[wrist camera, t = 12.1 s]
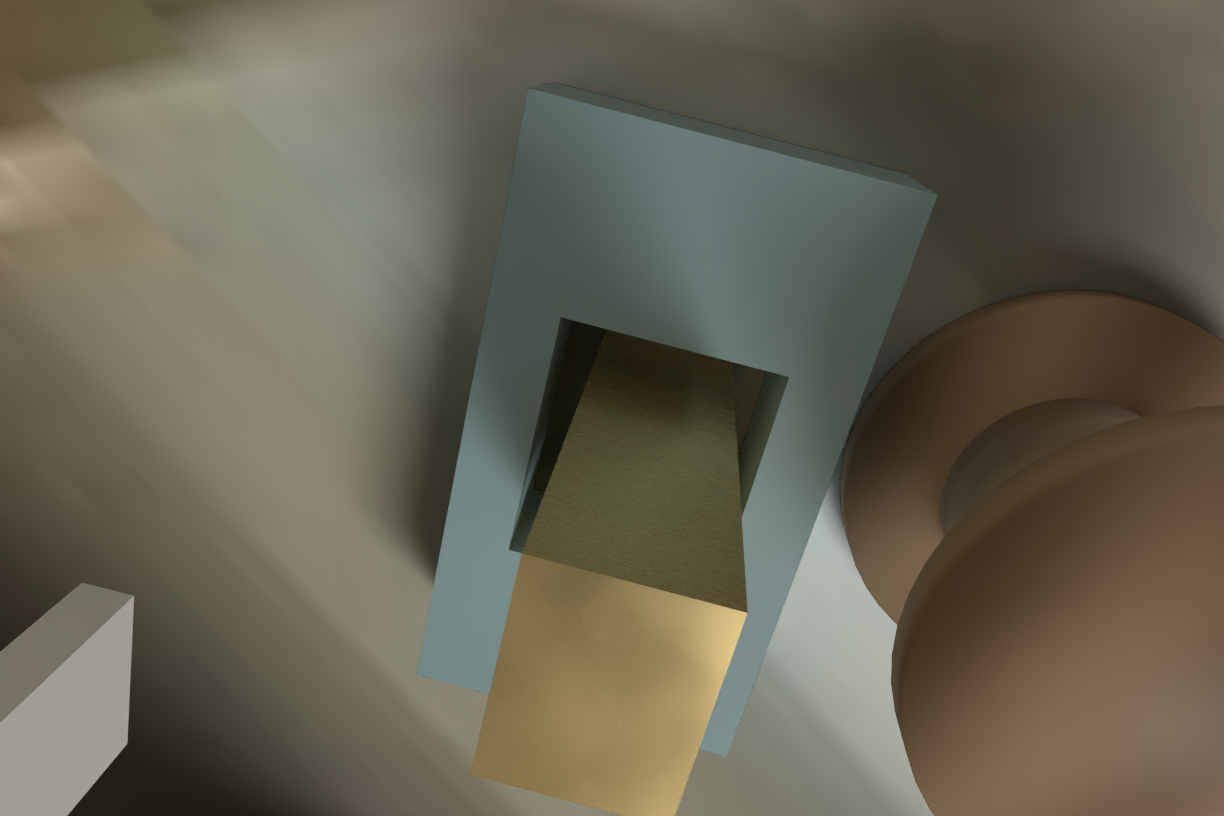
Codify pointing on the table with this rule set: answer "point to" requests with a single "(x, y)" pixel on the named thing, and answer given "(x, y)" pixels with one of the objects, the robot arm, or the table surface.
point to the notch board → (671, 336)
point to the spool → (1051, 557)
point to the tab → (625, 589)
